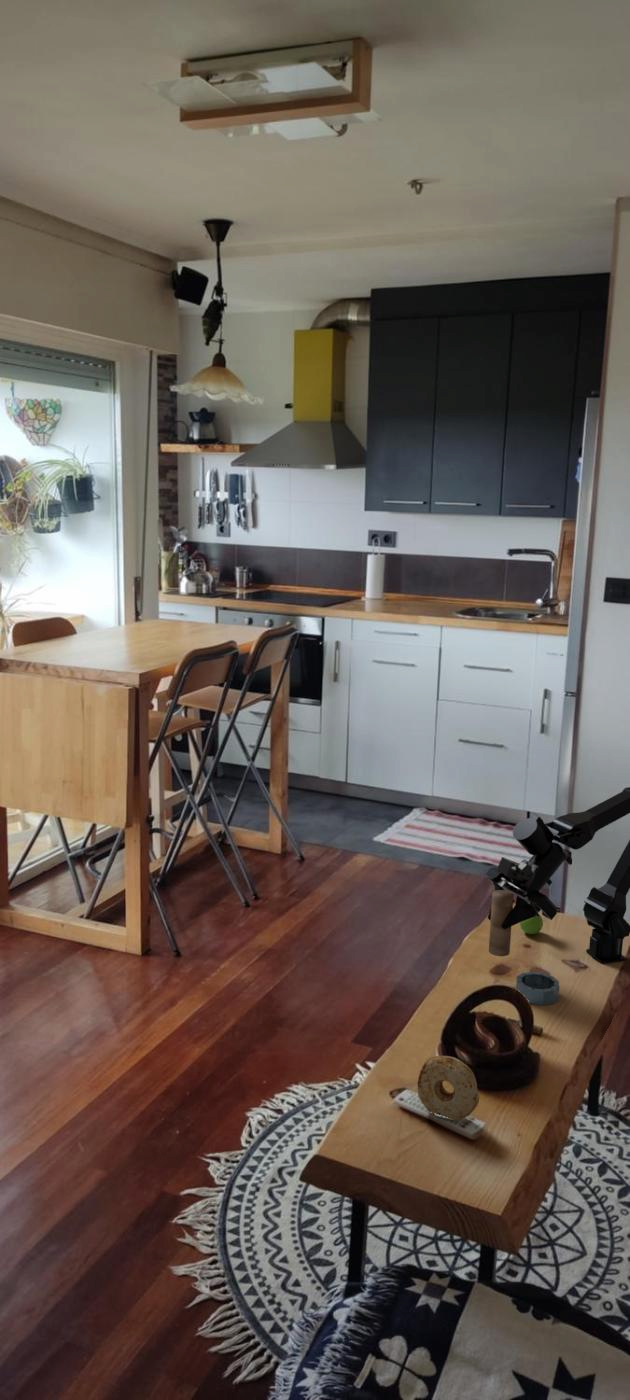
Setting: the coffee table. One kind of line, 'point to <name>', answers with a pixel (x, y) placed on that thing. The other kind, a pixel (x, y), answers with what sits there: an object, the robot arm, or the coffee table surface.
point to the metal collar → (538, 980)
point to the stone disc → (437, 1097)
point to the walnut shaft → (500, 923)
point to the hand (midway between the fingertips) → (495, 923)
